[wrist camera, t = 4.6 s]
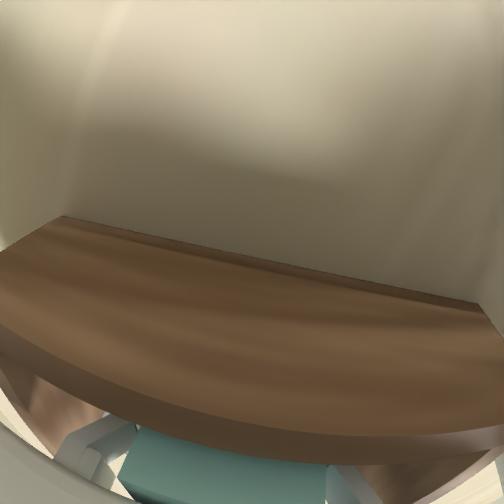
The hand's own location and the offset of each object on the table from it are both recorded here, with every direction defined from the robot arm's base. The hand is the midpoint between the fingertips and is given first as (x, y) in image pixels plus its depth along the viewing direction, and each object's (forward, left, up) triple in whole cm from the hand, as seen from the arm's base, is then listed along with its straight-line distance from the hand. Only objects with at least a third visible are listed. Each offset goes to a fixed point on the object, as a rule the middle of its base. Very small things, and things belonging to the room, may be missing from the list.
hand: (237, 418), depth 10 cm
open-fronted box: (+1, 0, -3) cm, 4 cm away
